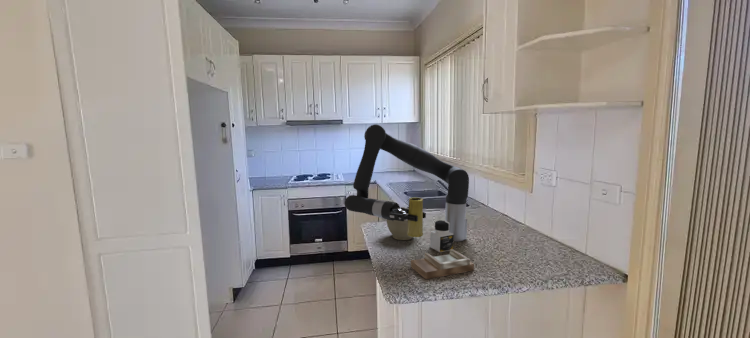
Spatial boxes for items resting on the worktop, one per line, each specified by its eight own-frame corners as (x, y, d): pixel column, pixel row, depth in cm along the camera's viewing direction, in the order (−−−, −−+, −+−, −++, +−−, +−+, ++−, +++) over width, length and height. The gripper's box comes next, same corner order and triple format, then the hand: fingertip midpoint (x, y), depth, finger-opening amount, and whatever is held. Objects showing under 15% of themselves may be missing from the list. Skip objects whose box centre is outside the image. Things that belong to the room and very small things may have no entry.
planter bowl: (386, 243, 150) (387, 219, 148) (384, 232, 166) (384, 210, 164) (422, 243, 150) (423, 219, 149) (417, 231, 166) (417, 210, 165)
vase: (405, 232, 133) (406, 197, 131) (421, 232, 134) (422, 197, 132) (408, 237, 127) (409, 200, 125) (424, 237, 128) (425, 200, 126)
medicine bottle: (439, 252, 139) (440, 224, 138) (429, 247, 145) (430, 220, 144) (453, 250, 142) (454, 222, 141) (442, 244, 149) (443, 218, 147)
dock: (455, 259, 132) (456, 248, 132) (473, 270, 122) (474, 258, 122) (410, 266, 125) (411, 255, 124) (425, 279, 115) (426, 266, 114)
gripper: (375, 204, 132) (411, 211, 122) (396, 197, 143) (431, 204, 133) (374, 222, 133) (411, 231, 123) (395, 215, 144) (430, 222, 134)
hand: (421, 217), depth 128 cm, fingers closed on vase, 5 cm apart
